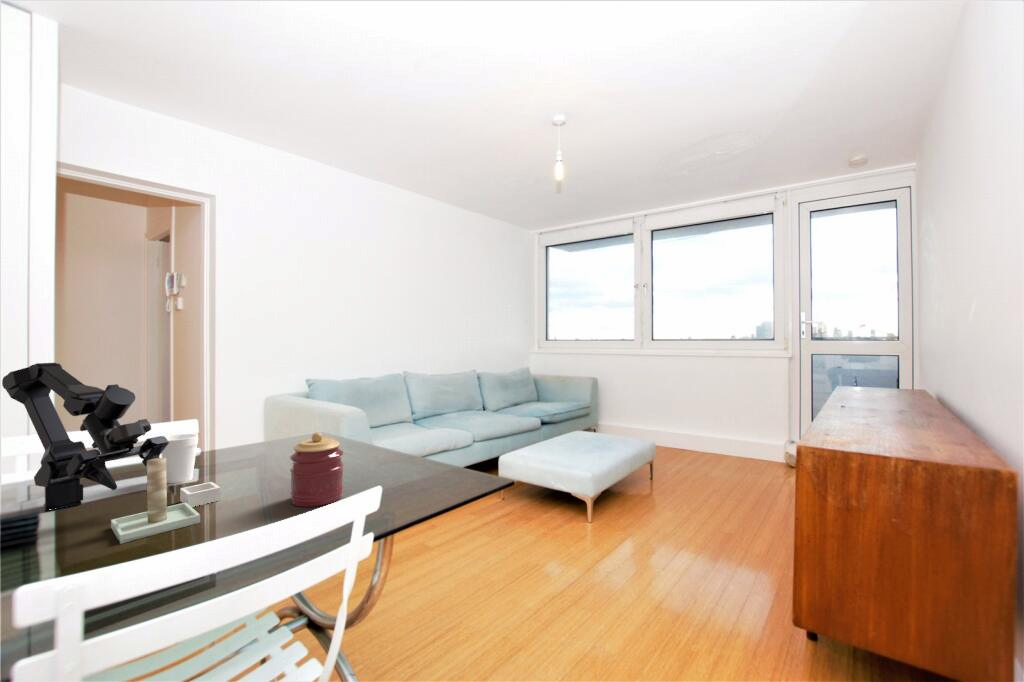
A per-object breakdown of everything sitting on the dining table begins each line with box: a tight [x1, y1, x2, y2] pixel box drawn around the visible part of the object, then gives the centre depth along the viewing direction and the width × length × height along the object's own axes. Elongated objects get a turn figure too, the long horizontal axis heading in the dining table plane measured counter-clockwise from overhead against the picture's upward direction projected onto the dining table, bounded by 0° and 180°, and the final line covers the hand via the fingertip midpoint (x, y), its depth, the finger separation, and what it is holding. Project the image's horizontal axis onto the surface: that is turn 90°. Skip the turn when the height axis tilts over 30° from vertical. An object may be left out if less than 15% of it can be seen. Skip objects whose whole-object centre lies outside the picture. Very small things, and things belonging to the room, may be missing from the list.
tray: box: [110, 502, 201, 545], centre depth 102 cm, size 14×12×2 cm
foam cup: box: [160, 433, 199, 484], centre depth 134 cm, size 10×9×13 cm
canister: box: [289, 431, 345, 508], centre depth 118 cm, size 13×13×18 cm
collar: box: [179, 481, 221, 508], centre depth 117 cm, size 7×7×4 cm
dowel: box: [146, 457, 168, 523], centre depth 103 cm, size 4×4×14 cm
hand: (138, 482), depth 105 cm, fingers open, 9 cm apart
